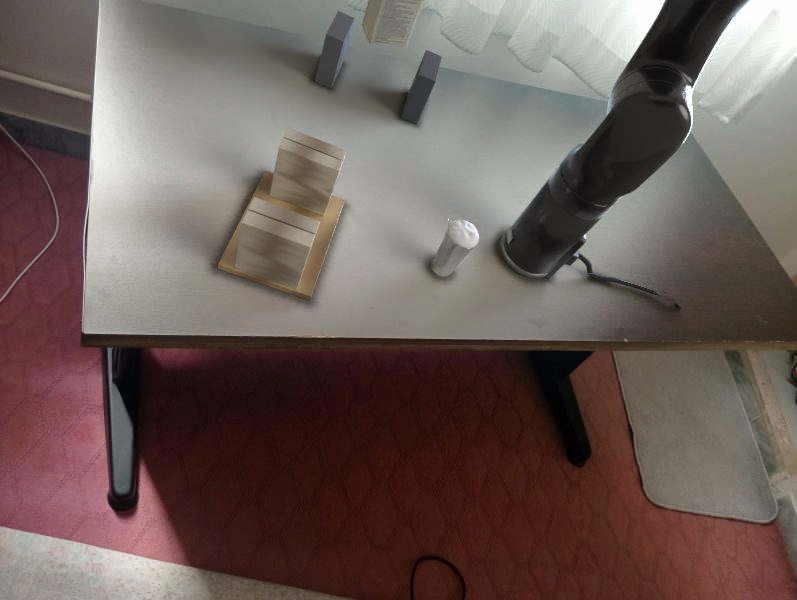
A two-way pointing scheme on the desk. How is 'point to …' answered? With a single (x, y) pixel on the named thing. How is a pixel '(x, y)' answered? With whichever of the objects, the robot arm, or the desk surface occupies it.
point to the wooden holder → (289, 218)
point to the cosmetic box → (390, 21)
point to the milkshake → (454, 247)
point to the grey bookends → (335, 55)
